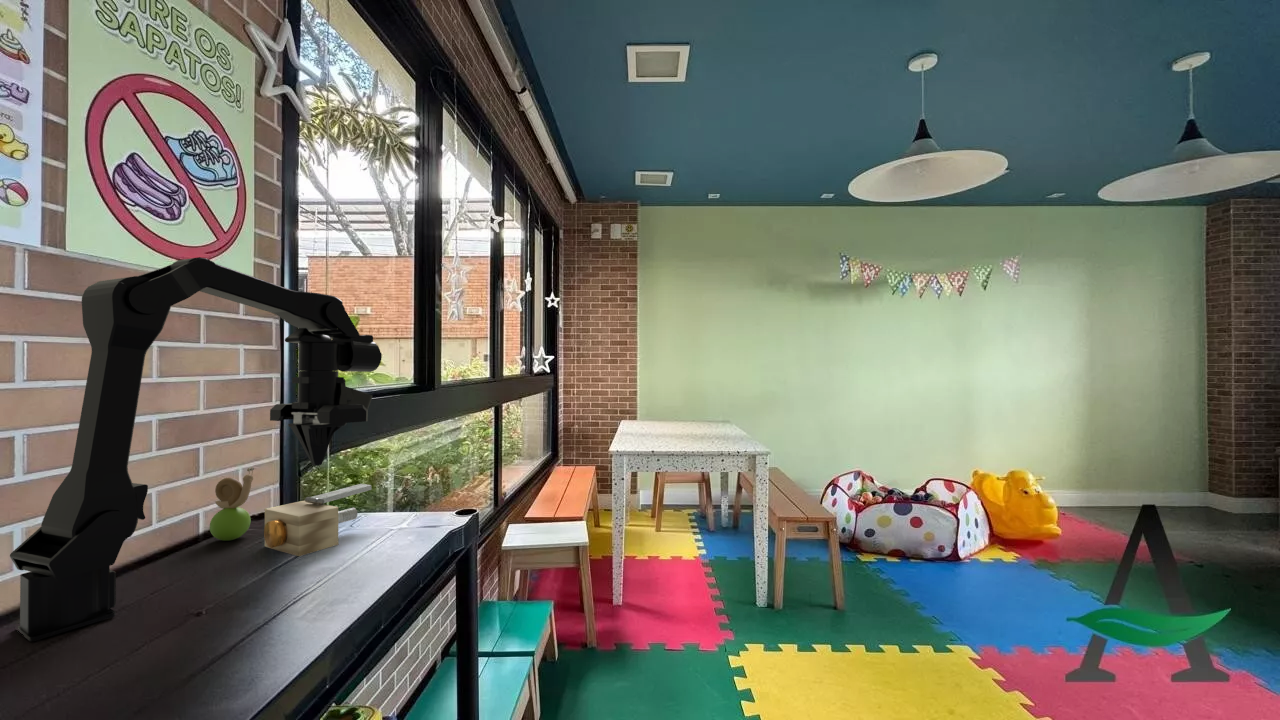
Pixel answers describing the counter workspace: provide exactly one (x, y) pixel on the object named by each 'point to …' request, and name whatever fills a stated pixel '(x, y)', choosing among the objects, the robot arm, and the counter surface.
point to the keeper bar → (338, 494)
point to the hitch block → (305, 526)
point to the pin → (277, 529)
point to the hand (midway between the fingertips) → (317, 465)
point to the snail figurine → (231, 508)
